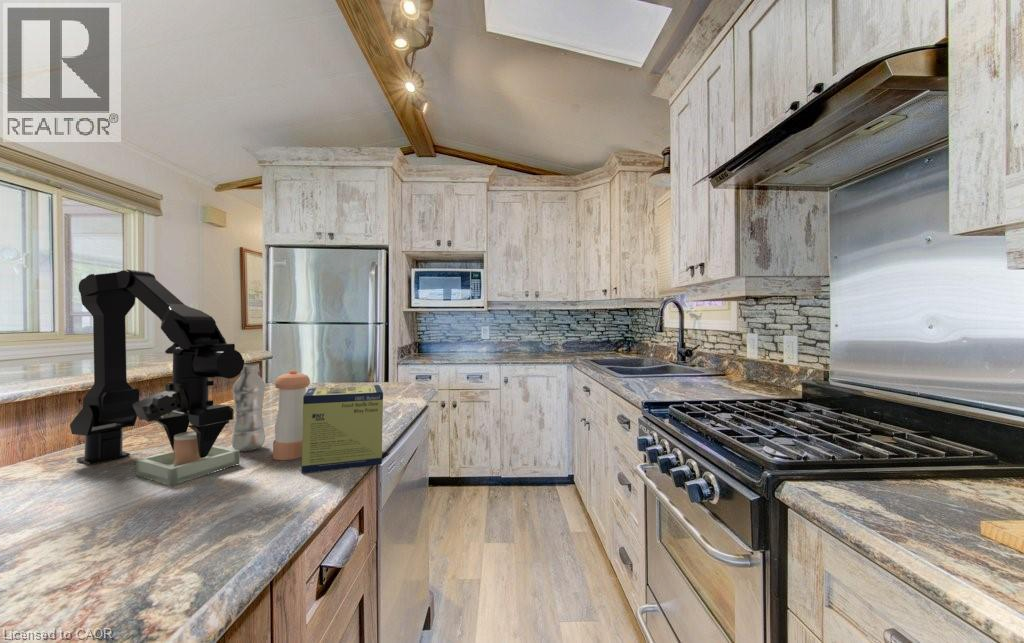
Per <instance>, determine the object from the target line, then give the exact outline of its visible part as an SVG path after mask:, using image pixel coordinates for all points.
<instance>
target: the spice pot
mask: <svg viewBox="0 0 1024 643" xmlns="http://www.w3.org/2000/svg"><path fill="white" fill-rule="evenodd" d="M204 458H205V457H203V458H200V456H199V451H198V443H197V435H196V432H195V431H194V430H189V431H188V430H187V432H183V433H179V434H176V435H174V454H173V466H174V467H175V466H179V465H182V464H186V463H190V462H193V461H197V460H201V459H204Z"/></svg>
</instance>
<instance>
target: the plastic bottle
mask: <svg viewBox="0 0 1024 643" xmlns="http://www.w3.org/2000/svg"><path fill="white" fill-rule="evenodd" d="M259 373H260V365H259V363H244V367H243V370H242V371H241V373H240V376H239V377H238V379H236V381H235V382H234V383H233V386H232V395H233V396H232V397H233V402H234V414H235V415H234V417H235V418H234V425H233V427H234V428H233V432H232V437H231V445H232V449H235V450H239V452H251V451H254V450H257V449H261V448H262V446H263V445H264V444H265V441H266V433H265V428H264V420H263V408H264V407H263V406H264V399H265V393H266V392H265V391H266V384H265V381H264V380H263V378H262V377H261V376H260V375H259ZM250 450H251V451H250Z"/></svg>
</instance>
